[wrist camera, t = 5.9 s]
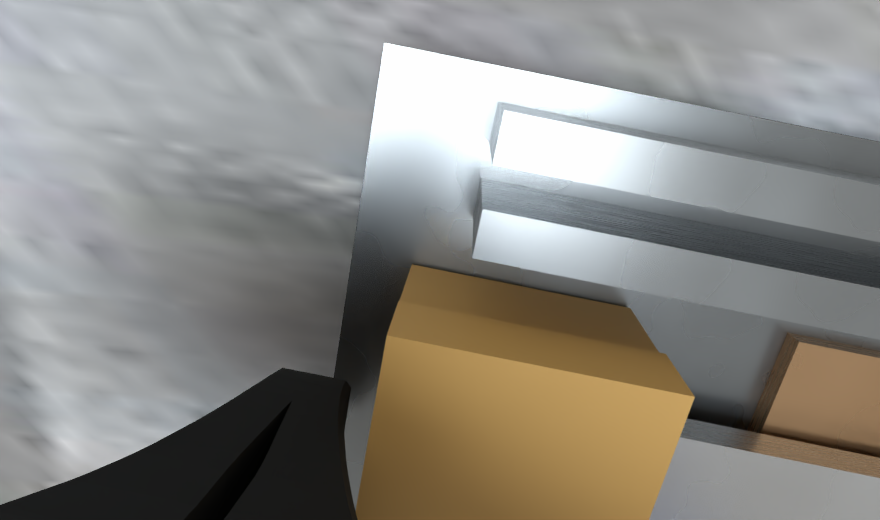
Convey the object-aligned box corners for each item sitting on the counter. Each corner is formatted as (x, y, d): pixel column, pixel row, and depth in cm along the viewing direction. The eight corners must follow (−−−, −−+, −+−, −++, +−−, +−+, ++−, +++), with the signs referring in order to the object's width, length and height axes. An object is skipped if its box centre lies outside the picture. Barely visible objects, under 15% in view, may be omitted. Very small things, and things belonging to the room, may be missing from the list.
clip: (550, 561, 12) (573, 721, 9) (363, 524, 12) (327, 671, 9) (631, 302, 10) (695, 396, 7) (412, 258, 10) (386, 335, 7)
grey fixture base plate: (1101, 656, 15) (1347, 885, 11) (327, 502, 15) (269, 670, 11) (1404, 249, 11) (1939, 351, 7) (399, 47, 11) (354, 32, 7)
